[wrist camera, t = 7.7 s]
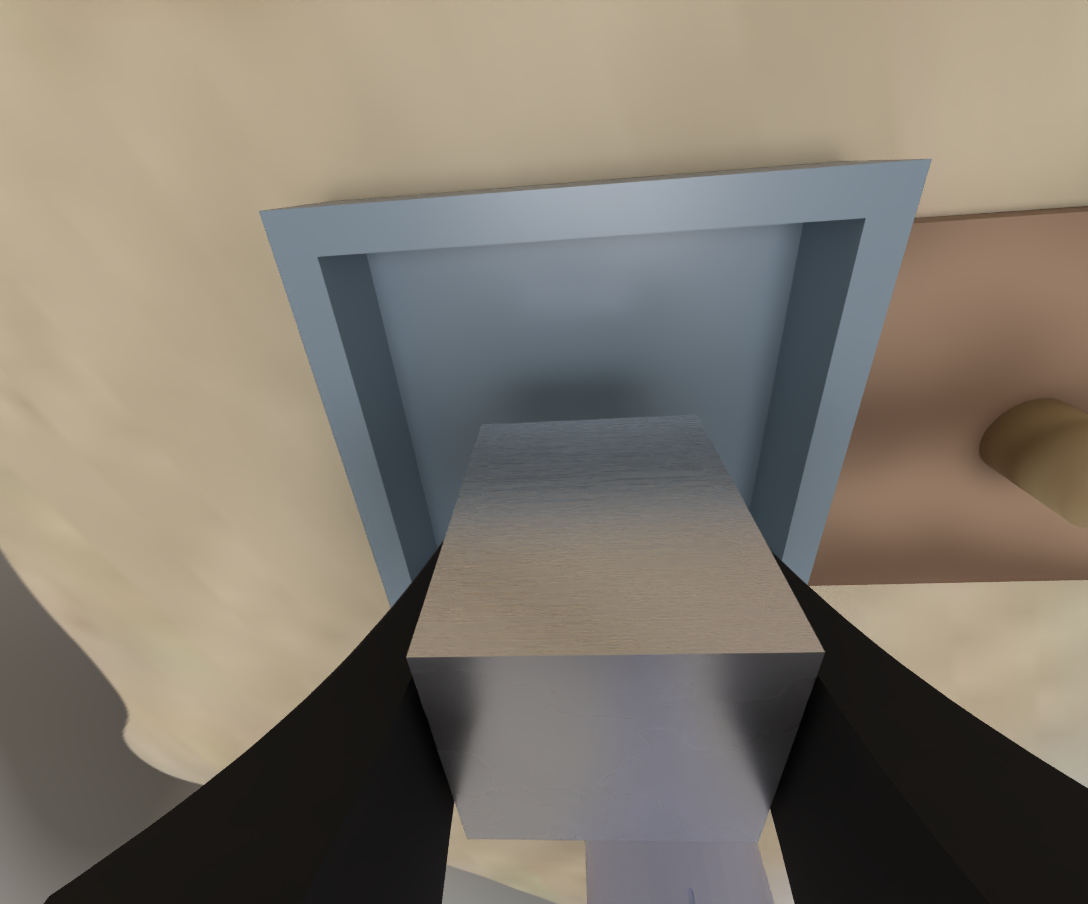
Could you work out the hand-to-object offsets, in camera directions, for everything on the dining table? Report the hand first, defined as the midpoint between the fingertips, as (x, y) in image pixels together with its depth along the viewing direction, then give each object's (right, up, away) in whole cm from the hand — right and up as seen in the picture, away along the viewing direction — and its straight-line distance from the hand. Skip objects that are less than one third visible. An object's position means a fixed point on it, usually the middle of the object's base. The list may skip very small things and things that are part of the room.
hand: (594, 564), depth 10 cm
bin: (0, +4, +6) cm, 7 cm away
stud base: (+14, +3, +6) cm, 16 cm away
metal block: (0, +1, +2) cm, 2 cm away
